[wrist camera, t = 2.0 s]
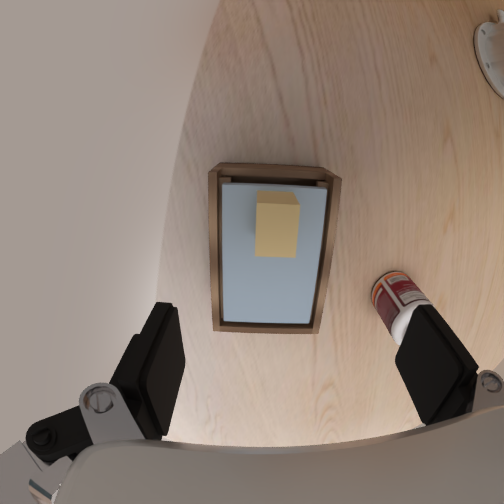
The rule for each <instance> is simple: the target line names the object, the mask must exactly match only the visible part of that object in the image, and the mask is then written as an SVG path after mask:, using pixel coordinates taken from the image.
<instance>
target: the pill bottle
mask: <svg viewBox="0 0 504 504" xmlns="http://www.w3.org/2000/svg"><path fill="white" fill-rule="evenodd" d="M372 303H373V305H374V307H375V309H376V310H377V312H378V314H379V315H380V317H381V319H382V320H383V322H384V324H385V326H386V327H387V329H388V331H389V333H390V334H391V336H392V338H393V339H394V341H395V342H396V343H397V344H398V345H401V342H402V340H403V337H404V335H405V332H406V329H407V327H408V324H409V321H410V318H411V316H412V313H413V310H414V309H415V308H416V307H417V306H418V305H421V304H431V305H433V304H432V303H431V302H430V301H429V299H428V298H427V297H426V296H425V295H424V294H423V292H422V291H421V290H420V289H419V288H418V287H417V286H416V284H415V283H414V282H413V281H412V280H411V279H410V278H409V277H408V276H407V275H406V274H404V273H402V272H391V273H388V274H386V275H384V276H383V277H382V278H381V279H380V280H379V281H378V282H377V283H376V285H375V286H374V288H373V291H372ZM433 307H434V305H433ZM434 308H435V307H434ZM435 309H436V308H435Z"/></svg>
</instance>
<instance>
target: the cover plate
mask: <svg viewBox="0 0 504 504" xmlns="http://www.w3.org/2000/svg"><path fill="white" fill-rule="evenodd" d="M326 196H327V189H326V188H325V187H313V186H298V185H280V184H256V183H223V184H222V261H223V311H224V321H234V322H258V323H309V321H310V315H311V309H312V303H313V297H314V291H315V284H316V277H317V271H318V263H319V256H320V249H321V241H322V233H323V224H324V215H325V206H326Z"/></svg>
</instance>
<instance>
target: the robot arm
mask: <svg viewBox="0 0 504 504" xmlns="http://www.w3.org/2000/svg"><path fill="white" fill-rule="evenodd" d="M497 14H498V18H499V22H498V24H495V23H492V22H485V23H482V24H480V25H479V26H478V27H477V29H476V31H475V35H474V43H475V50H476V55H477V58H478V61H479V64H480V67H481V69H482V71H483V73H484V75H485V77H486V79H487V81H488V82H489V84H490V85H491V87H492V88H493V89H494V90H495V92H496V93H497V94H498V95H499V96H501V97H502V98H503V99H504V11H502V10H497ZM395 364H396V366H397V368H398V370H399V372H400V375H401V377H402V379H403V381H404V383H405V385H406V387H407V390H408V392H409V394H410V396H411V398H412V401H413V403H414V405H415V408H416V410H417V412H418V414H419V417H420V419H421V421H422V423H424V424H426V426H425V427H421V428H416V429H412V430H408V431H404V432H400V433H395V434H390V435H385V436H380V437H374V438H369V439H363V440H356V441H349V442H341V443H332V444H322V445H310V446H293V447H235V446H216V445H202V444H191V443H182V442H171V441H161V439H162V435H163V436H167V434H168V430H169V426H170V422H171V418H172V414H173V410H174V406H175V403H176V399H177V395H178V391H179V387H180V383H181V380H182V376H183V372H184V368H185V355H184V349H183V342H182V336H181V330H180V323H179V316H178V309H177V307H173V305H172V303H164V302H156V304H155V306H154V308H153V310H152V311H151V313H150V315H149V317H148V319H147V321H146V323H145V325H144V327H143V329H142V331H141V333H140V334H135V335H134V336H133V337H132V339H131V341H130V343H129V345H128V346H127V348H126V350H125V352H124V354H123V356H122V358H121V360H120V363H119V364H118V366H117V368H116V370H115V372H114V374H113V376H112V378H111V380H110V382H109V384H108V383H96V384H92V385H90V386H88V387H87V388H86V389H85V390H83V392H82V393H81V395H80V398H79V406H76V407H74V408H71V409H69V410H66V411H64V412H61V413H59V414H56V415H54V416H51V417H48V418H45V419H43V420H40V421H38V422H36V423H34V424H32V425H31V427H29V429H28V431H27V433H26V441H24V442H23V443H22V442H21V441H18V442H17V443H16V444H15V445H13V446H12V447H10V448H9V449H7V450H6V451H5V452H3V453H2V454H1V455H0V504H52V503H51V498H52V495H53V494H54V492H55V491H56V490H58V489H59V490H58V493H57V496H56V499H55V502H54V504H504V382H503V379H502V378H501V377H500V376H499V375H498V374H497V373H496V372H493V371H491V370H483V371H481V372H480V373H479V374H477V373H476V371H477V370H478V368H479V366H478V365H477V363H476V362H475V360H474V359H473V357H472V356H471V355H470V353H469V352H468V351H467V349H466V348H465V346H464V345H463V344H462V342H461V341H460V340H459V338H458V337H457V336H456V334H455V333H454V332H453V330H452V329H451V328H450V327H449V325H448V324H447V323H446V321H445V320H444V319H443V318H442V316H441V315H440V314H439V313H438V311H437V310H436V309H435V308H434V307H433V305H431V304H421V305H418V306H417V307H416V308H415V309H414V310H413V313H412V316H411V318H410V321H409V324H408V327H407V329H406V332H405V335H404V337H403V340H402V342H401V345H400V347H399V350H398V352H397V355H396V357H395ZM60 483H61V486H60V485H59V484H60Z"/></svg>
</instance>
